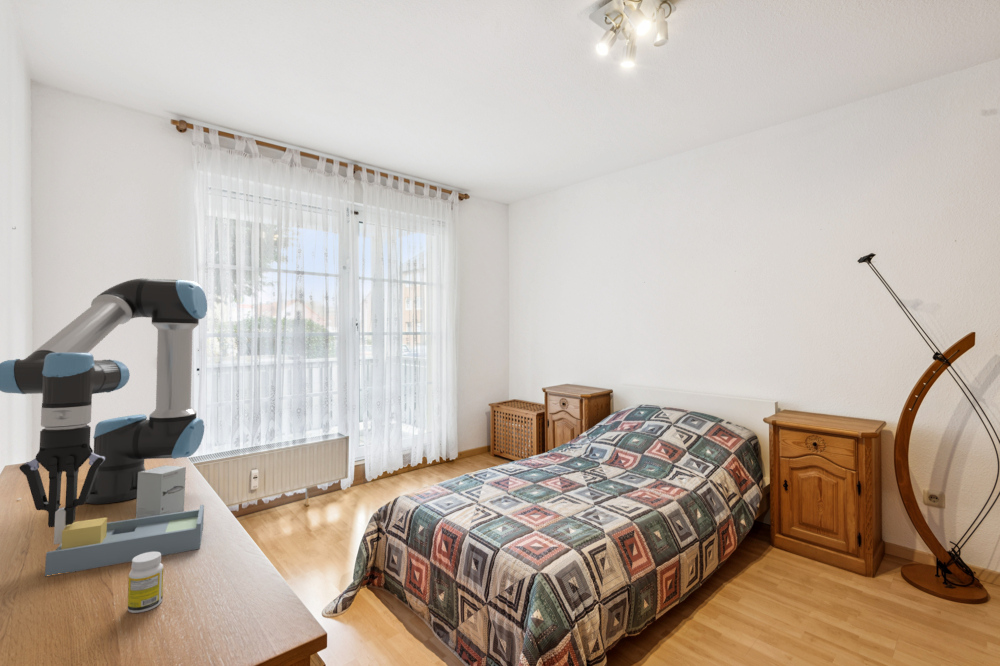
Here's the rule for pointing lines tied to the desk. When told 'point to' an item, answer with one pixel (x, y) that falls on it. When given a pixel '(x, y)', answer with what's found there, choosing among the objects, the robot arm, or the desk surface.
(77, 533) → the block
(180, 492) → the supplement box
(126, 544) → the tray
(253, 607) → the desk surface
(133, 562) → the supplement bottle
